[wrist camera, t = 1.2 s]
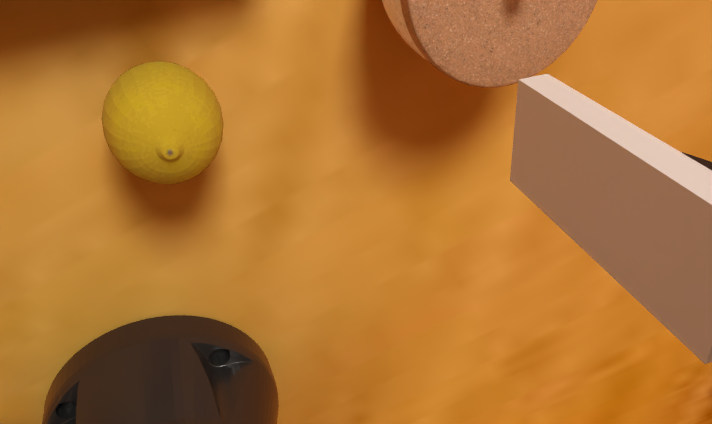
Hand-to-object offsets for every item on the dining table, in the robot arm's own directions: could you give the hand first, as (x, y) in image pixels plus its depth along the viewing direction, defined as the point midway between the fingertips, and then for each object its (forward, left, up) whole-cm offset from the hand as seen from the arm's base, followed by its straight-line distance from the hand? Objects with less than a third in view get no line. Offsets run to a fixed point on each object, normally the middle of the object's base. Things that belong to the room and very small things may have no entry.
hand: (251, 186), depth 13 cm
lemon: (-4, +2, -21) cm, 22 cm away
